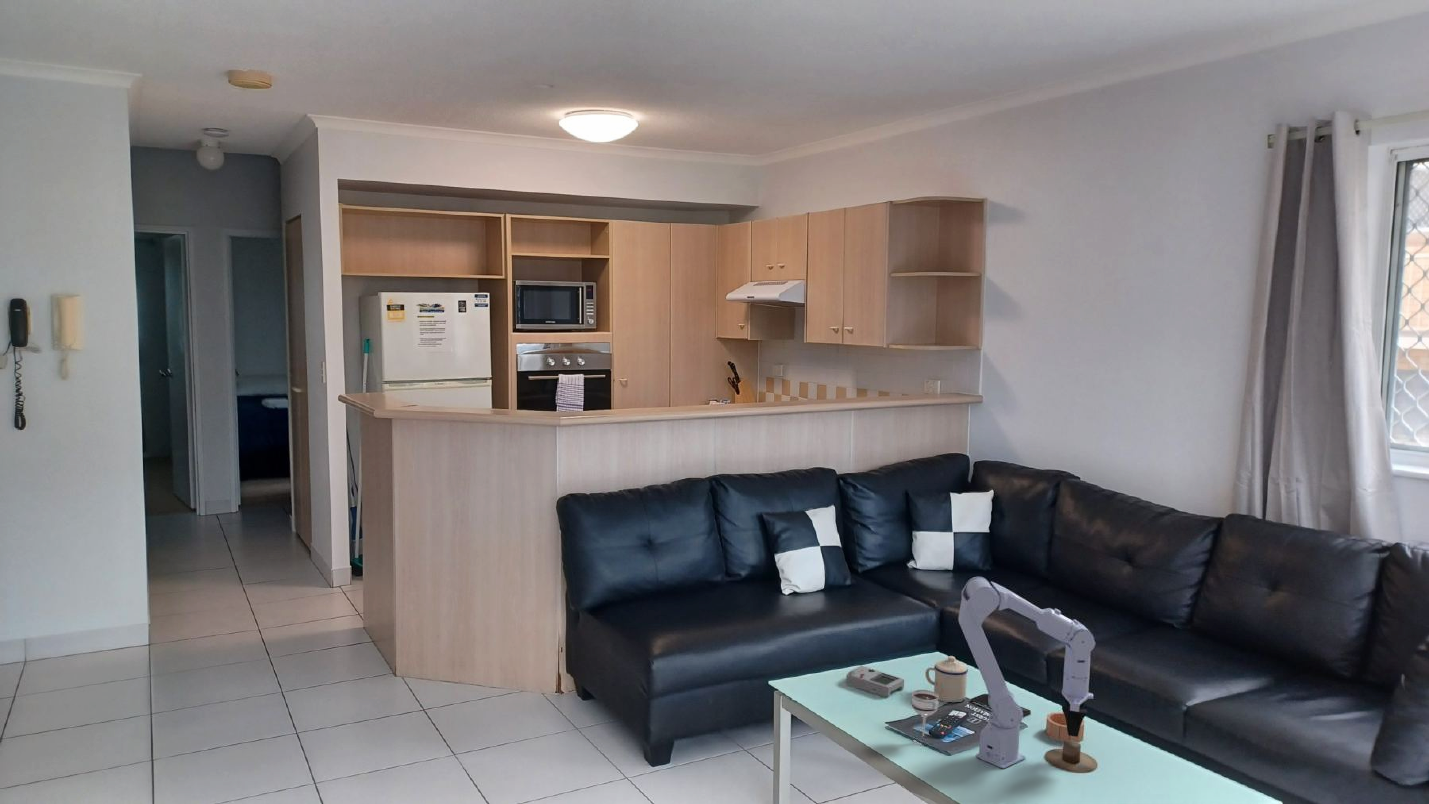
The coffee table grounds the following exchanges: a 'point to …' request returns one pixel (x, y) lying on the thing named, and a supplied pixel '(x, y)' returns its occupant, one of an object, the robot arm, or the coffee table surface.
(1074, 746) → the walnut lid
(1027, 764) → the coffee table surface
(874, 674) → the handheld gaming device
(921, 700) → the wineglass
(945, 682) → the teacup with lid
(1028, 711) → the phone
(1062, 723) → the terracotta bowl
